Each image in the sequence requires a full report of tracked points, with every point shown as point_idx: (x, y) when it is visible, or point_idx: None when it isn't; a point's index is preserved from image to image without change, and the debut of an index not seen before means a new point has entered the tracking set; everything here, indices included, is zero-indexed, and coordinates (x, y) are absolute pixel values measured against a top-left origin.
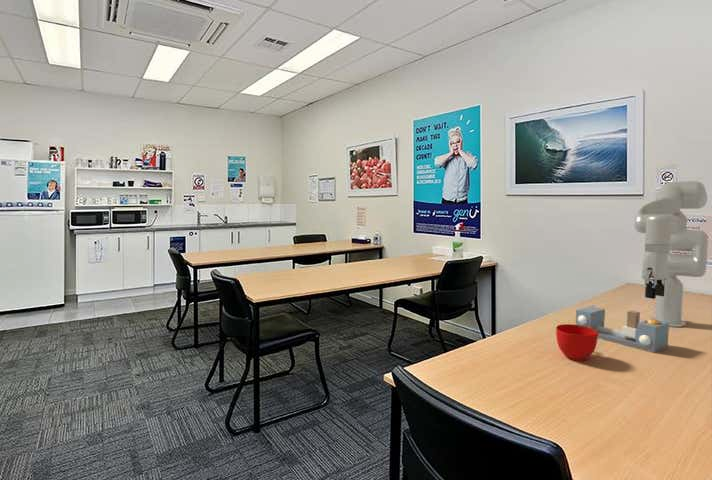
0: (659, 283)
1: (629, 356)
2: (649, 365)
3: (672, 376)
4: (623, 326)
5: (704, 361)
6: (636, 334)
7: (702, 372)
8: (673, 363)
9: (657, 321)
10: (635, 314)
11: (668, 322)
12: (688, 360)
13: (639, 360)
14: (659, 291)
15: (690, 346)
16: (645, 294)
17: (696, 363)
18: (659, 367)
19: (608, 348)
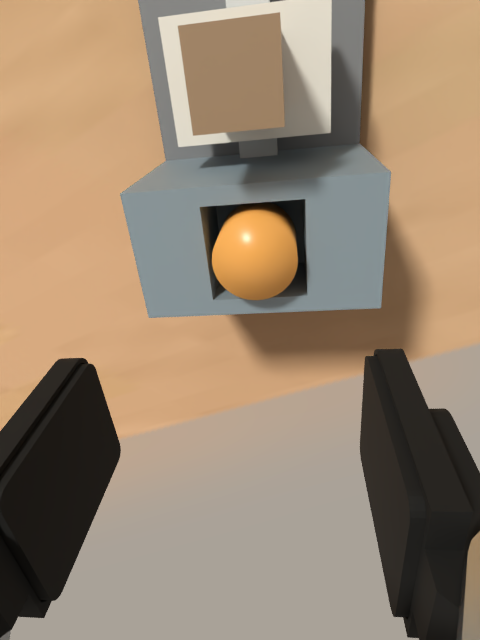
0: (445, 636)
1: (22, 214)
2: (18, 313)
3: (10, 393)
4: (186, 20)
5: (276, 394)
6: (149, 173)
7: (145, 425)
8: (135, 348)
9: (247, 295)
10: (194, 128)
11: (377, 305)
12: (229, 362)
13: (25, 265)
14: (373, 471)
15: (471, 292)
16: (43, 385)
17: (222, 388)
18: (39, 340)
19: (7, 73)
